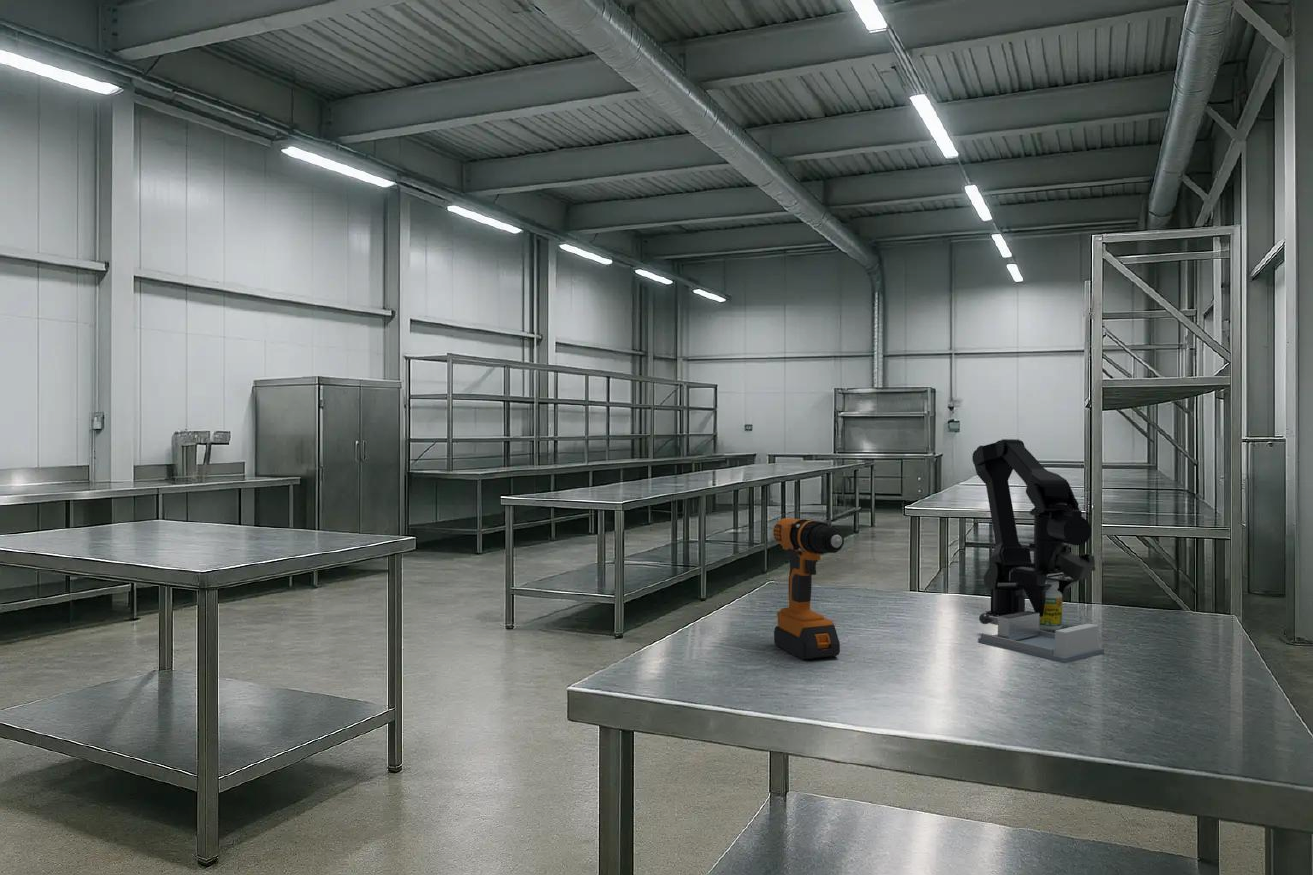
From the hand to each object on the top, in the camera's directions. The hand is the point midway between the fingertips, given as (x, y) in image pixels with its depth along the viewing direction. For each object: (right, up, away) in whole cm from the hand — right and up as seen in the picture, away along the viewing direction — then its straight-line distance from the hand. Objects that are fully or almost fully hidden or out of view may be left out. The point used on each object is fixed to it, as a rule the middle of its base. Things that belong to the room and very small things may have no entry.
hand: (1047, 614), depth 182 cm
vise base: (-7, -4, -13) cm, 15 cm away
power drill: (-52, -4, -19) cm, 56 cm away
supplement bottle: (0, -3, 0) cm, 3 cm away
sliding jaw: (-12, -3, -6) cm, 13 cm away
